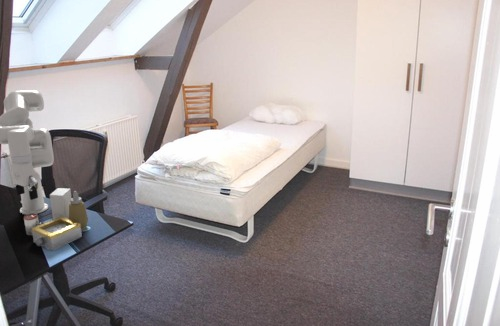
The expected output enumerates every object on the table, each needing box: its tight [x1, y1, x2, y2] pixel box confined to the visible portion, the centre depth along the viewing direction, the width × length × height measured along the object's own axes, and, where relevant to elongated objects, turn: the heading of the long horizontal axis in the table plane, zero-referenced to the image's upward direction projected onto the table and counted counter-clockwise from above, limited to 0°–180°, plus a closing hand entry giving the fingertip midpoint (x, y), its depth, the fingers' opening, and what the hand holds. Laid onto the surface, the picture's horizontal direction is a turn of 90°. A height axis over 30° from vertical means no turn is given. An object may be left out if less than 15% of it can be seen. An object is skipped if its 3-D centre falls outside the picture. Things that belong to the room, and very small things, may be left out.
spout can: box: [23, 213, 45, 236], centre depth 176 cm, size 6×8×8 cm
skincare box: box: [49, 187, 72, 220], centre depth 184 cm, size 8×7×16 cm
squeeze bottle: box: [69, 190, 89, 231], centre depth 178 cm, size 8×8×18 cm
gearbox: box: [32, 216, 83, 251], centre depth 169 cm, size 13×16×6 cm
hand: (27, 196), depth 170 cm, fingers open, 9 cm apart
